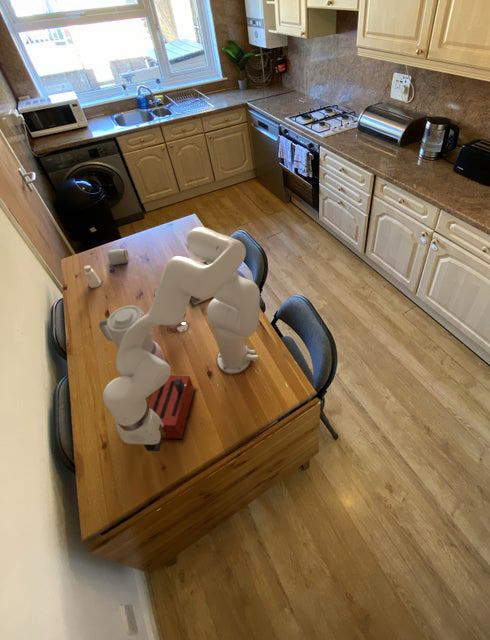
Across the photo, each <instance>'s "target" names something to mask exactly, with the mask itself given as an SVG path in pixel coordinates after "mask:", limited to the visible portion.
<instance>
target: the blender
mask: <svg viewBox="0 0 490 640" xmlns="http://www.w3.org/2000/svg"><path fill="white" fill-rule="evenodd" d="M144 315H145V313H144V311H143V309H141V307H139V306H137V305H133V304H131V305H130V304H129V305H124V306H121V307H119V308H116V309H115V310H114V311H112V312H111V314H110V315H109V316H108V318H107V319H103V320H101V321H100V322H99V324H98V326H99V329H100V330H101V333H102V334H103V336H104V337H105V339H106V340H107V341H109V342H114V344H115V346H116V347H117V349H119V347H120V345H121V342H122V339H123V337H124V335H125V333H126V332H127V331H128V329H129V328H130V327H131V326H132V325H133V324H134V323H135V322H136V321H137V320H139V319H140V318H141V317H143V316H144ZM142 349H144V350H146V351H148V352H149V353H151V354H153V355H155V356H156V357H158V358H160V359H161V360H163V361H165V362H166V363H168V362H167V360H166V358H165V356H164V354H163V351H162V348H161V346H160V345H159V344H158V343H157V342H156V341H155V340H154V337H153V332H152V329H151V330H150V331H149V332H148V334H147V335H146V337H145V340H144V343H143V346H142Z"/></svg>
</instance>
